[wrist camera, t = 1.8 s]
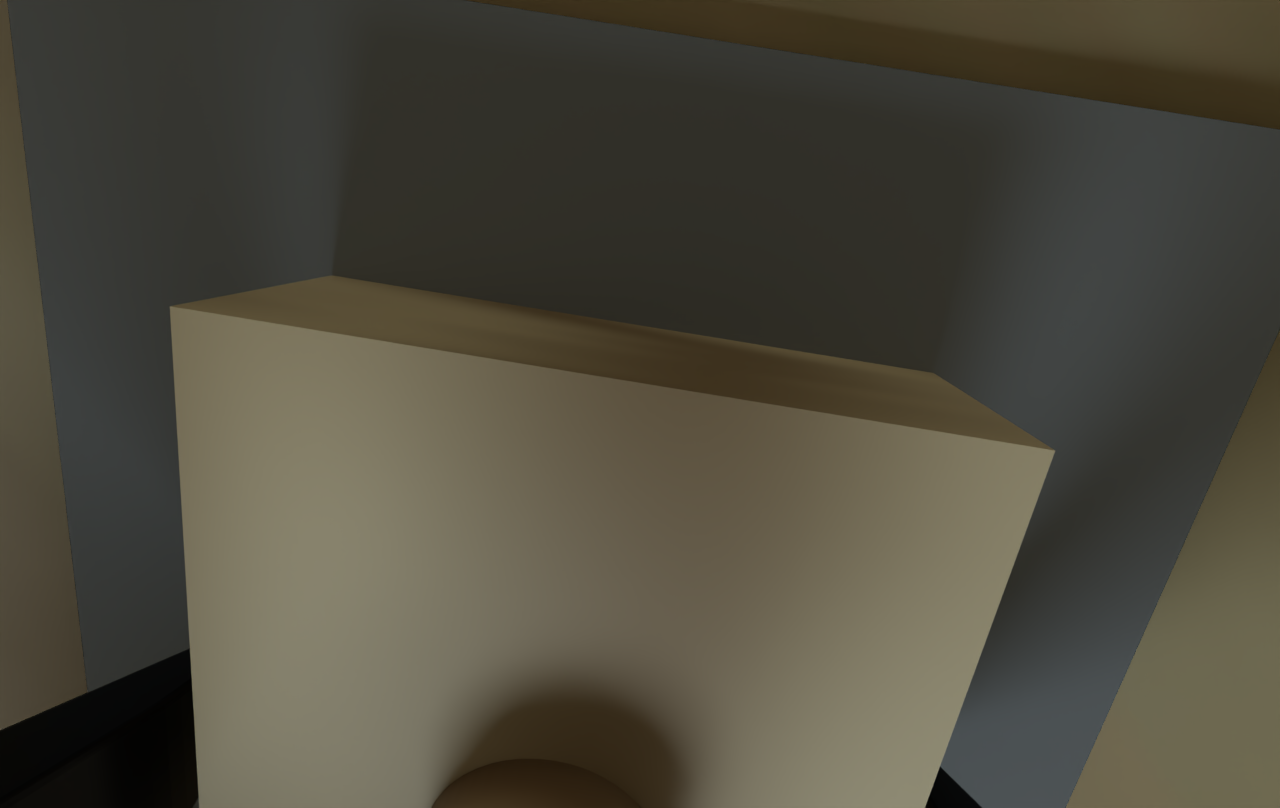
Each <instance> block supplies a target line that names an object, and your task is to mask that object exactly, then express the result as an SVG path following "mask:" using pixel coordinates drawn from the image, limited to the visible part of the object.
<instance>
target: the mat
mask: <svg viewBox="0 0 1280 808" xmlns="http://www.w3.org/2000/svg"><path fill="white" fill-rule="evenodd" d="M7 3H8V11H9V20H10V29H11V37H12V46H13V54H14V63H15V71H16V80H17V89H18V97H19V106H20V114H21V123H22V132H23V140H24V149H25V157H26V166H27V175H28V183H29V192H30V200H31V209H32V218H33V226H34V235H35V243H36V252H37V261H38V269H39V278H40V286H41V295H42V304H43V312H44V321H45V329H46V338H47V347H48V355H49V364H50V372H51V381H52V390H53V398H54V407H55V415H56V424H57V432H58V441H59V450H60V458H61V467H62V475H63V484H64V493H65V501H66V510H67V518H68V527H69V536H70V544H71V553H72V561H73V570H74V579H75V587H76V596H77V604H78V613H79V622H80V630H81V639H82V647H83V656H84V665H85V673H86V682H87V690H88V692H90V691H92V690H94V689H97V688H99V687H101V686H104V685H106V684H108V683H111V682H113V681H115V680H118V679H120V678H122V677H124V676H127V675H129V674H131V673H134V672H136V671H138V670H141V669H143V668H145V667H147V666H150V665H152V664H154V663H157V662H159V661H161V660H164V659H166V658H168V657H170V656H173V655H175V654H177V653H180V652H182V651H184V650H187V649H189V648H190V641H189V624H188V607H187V590H186V573H185V556H184V539H183V522H182V505H181V488H180V472H179V455H178V438H177V421H176V404H175V387H174V370H173V353H172V336H171V319H170V306H174V305H179V304H184V303H190V302H195V301H200V300H205V299H211V298H216V297H221V296H226V295H231V294H237V293H242V292H247V291H252V290H258V289H263V288H268V287H273V286H278V285H284V284H289V283H294V282H299V281H305V280H310V279H315V278H320V277H326V276H331V275H332V276H339V277H345V278H351V279H357V280H363V281H369V282H376V283H382V284H388V285H394V286H400V287H406V288H413V289H419V290H425V291H431V292H437V293H443V294H450V295H456V296H462V297H468V298H474V299H480V300H486V301H493V302H499V303H505V304H511V305H517V306H523V307H530V308H536V309H542V310H548V311H554V312H560V313H567V314H573V315H579V316H585V317H591V318H597V319H604V320H610V321H616V322H622V323H628V324H634V325H641V326H647V327H653V328H659V329H665V330H671V331H678V332H684V333H690V334H696V335H702V336H708V337H714V338H721V339H727V340H733V341H739V342H745V343H751V344H758V345H764V346H770V347H776V348H782V349H788V350H795V351H801V352H807V353H813V354H819V355H825V356H832V357H838V358H844V359H850V360H856V361H862V362H869V363H875V364H881V365H887V366H893V367H899V368H906V369H912V370H918V371H924V372H930V373H934V374H936V375H938V376H939V377H941V378H942V379H944V380H945V381H947V382H949V383H950V384H952V385H953V386H955V387H956V388H958V389H959V390H961V391H963V392H964V393H966V394H967V395H969V396H970V397H972V398H974V399H975V400H977V401H978V402H980V403H981V404H983V405H985V406H986V407H988V408H989V409H991V410H992V411H994V412H996V413H997V414H999V415H1000V416H1002V417H1003V418H1005V419H1007V420H1008V421H1010V422H1011V423H1013V424H1014V425H1016V426H1018V427H1019V428H1021V429H1022V430H1024V431H1025V432H1027V433H1029V434H1030V435H1032V436H1033V437H1035V438H1036V439H1038V440H1040V441H1041V442H1043V443H1044V444H1046V445H1047V446H1049V447H1050V448H1052V449H1054V450H1055V453H1054V456H1053V459H1052V461H1051V464H1050V467H1049V469H1048V472H1047V475H1046V478H1045V480H1044V483H1043V486H1042V489H1041V491H1040V494H1039V497H1038V500H1037V502H1036V505H1035V508H1034V510H1033V513H1032V516H1031V519H1030V521H1029V524H1028V527H1027V530H1026V532H1025V535H1024V538H1023V541H1022V543H1021V546H1020V549H1019V552H1018V554H1017V557H1016V560H1015V562H1014V565H1013V568H1012V571H1011V573H1010V576H1009V579H1008V582H1007V584H1006V587H1005V590H1004V593H1003V595H1002V598H1001V601H1000V604H999V606H998V609H997V612H996V614H995V617H994V620H993V623H992V625H991V628H990V631H989V634H988V636H987V639H986V642H985V645H984V647H983V650H982V653H981V656H980V658H979V661H978V664H977V666H976V669H975V672H974V675H973V677H972V680H971V683H970V686H969V688H968V691H967V694H966V697H965V699H964V702H963V705H962V708H961V710H960V713H959V716H958V718H957V721H956V724H955V727H954V729H953V732H952V735H951V738H950V740H949V743H948V746H947V749H946V751H945V754H944V757H943V760H942V762H941V765H940V766H941V767H942V768H943V769H944V770H945V771H946V772H947V773H948V774H949V775H950V776H951V777H952V778H953V779H954V780H955V781H956V782H957V783H958V784H959V785H960V786H961V787H962V788H963V789H964V790H965V791H966V792H967V793H968V794H969V795H970V796H971V797H972V798H973V799H974V800H975V801H976V802H977V803H978V804H979V805H980V806H981V807H982V808H1066V806H1067V803H1068V801H1069V799H1070V797H1071V794H1072V792H1073V790H1074V788H1075V786H1076V783H1077V781H1078V779H1079V777H1080V774H1081V772H1082V770H1083V768H1084V765H1085V763H1086V761H1087V759H1088V756H1089V754H1090V752H1091V750H1092V748H1093V745H1094V743H1095V741H1096V739H1097V736H1098V734H1099V732H1100V730H1101V727H1102V725H1103V723H1104V721H1105V719H1106V716H1107V714H1108V712H1109V710H1110V707H1111V705H1112V703H1113V701H1114V698H1115V696H1116V694H1117V692H1118V689H1119V687H1120V685H1121V683H1122V681H1123V678H1124V676H1125V674H1126V672H1127V669H1128V667H1129V665H1130V663H1131V660H1132V658H1133V656H1134V654H1135V652H1136V649H1137V647H1138V645H1139V643H1140V640H1141V638H1142V636H1143V634H1144V631H1145V629H1146V627H1147V625H1148V622H1149V620H1150V618H1151V616H1152V614H1153V611H1154V609H1155V607H1156V605H1157V602H1158V600H1159V598H1160V596H1161V593H1162V591H1163V589H1164V587H1165V584H1166V582H1167V580H1168V578H1169V576H1170V573H1171V571H1172V569H1173V567H1174V564H1175V562H1176V560H1177V558H1178V555H1179V553H1180V551H1181V549H1182V547H1183V544H1184V542H1185V540H1186V538H1187V535H1188V533H1189V531H1190V529H1191V526H1192V524H1193V522H1194V520H1195V517H1196V515H1197V513H1198V511H1199V509H1200V506H1201V504H1202V502H1203V500H1204V497H1205V495H1206V493H1207V491H1208V488H1209V486H1210V484H1211V482H1212V480H1213V477H1214V475H1215V473H1216V471H1217V468H1218V466H1219V464H1220V462H1221V459H1222V457H1223V455H1224V453H1225V450H1226V448H1227V446H1228V444H1229V442H1230V439H1231V437H1232V435H1233V433H1234V430H1235V428H1236V426H1237V424H1238V421H1239V419H1240V417H1241V415H1242V413H1243V410H1244V408H1245V406H1246V404H1247V401H1248V399H1249V397H1250V395H1251V392H1252V390H1253V388H1254V386H1255V383H1256V381H1257V379H1258V377H1259V375H1260V372H1261V370H1262V368H1263V366H1264V363H1265V361H1266V359H1267V357H1268V354H1269V352H1270V350H1271V348H1272V346H1273V343H1274V341H1275V339H1276V337H1277V334H1278V332H1279V330H1280V130H1279V129H1272V128H1266V127H1260V126H1253V125H1247V124H1241V123H1235V122H1228V121H1222V120H1216V119H1209V118H1203V117H1197V116H1190V115H1184V114H1178V113H1172V112H1165V111H1159V110H1153V109H1146V108H1140V107H1134V106H1127V105H1121V104H1115V103H1109V102H1102V101H1096V100H1090V99H1083V98H1077V97H1071V96H1064V95H1058V94H1052V93H1046V92H1039V91H1033V90H1027V89H1020V88H1014V87H1008V86H1002V85H995V84H989V83H983V82H976V81H970V80H964V79H957V78H951V77H945V76H939V75H932V74H926V73H920V72H913V71H907V70H901V69H894V68H888V67H882V66H876V65H869V64H863V63H857V62H850V61H844V60H838V59H831V58H825V57H819V56H813V55H806V54H800V53H794V52H787V51H781V50H775V49H768V48H762V47H756V46H750V45H743V44H737V43H731V42H724V41H718V40H712V39H706V38H699V37H693V36H687V35H680V34H674V33H668V32H661V31H655V30H649V29H643V28H636V27H630V26H624V25H617V24H611V23H605V22H598V21H592V20H586V19H580V18H573V17H567V16H561V15H554V14H548V13H542V12H535V11H529V10H523V9H517V8H510V7H504V6H498V5H491V4H485V3H479V2H472V1H466V0H7ZM193 808H199V798H198V800H197V801H196V803H195V805H194V806H193Z"/></svg>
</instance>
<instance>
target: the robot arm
mask: <svg viewBox="0 0 1280 808" xmlns="http://www.w3.org/2000/svg"><path fill="white" fill-rule="evenodd" d="M198 798H199V794H198V777H197V760H196V743H195V726H194V709H193V692H192V675H191V658H190V648H189V649H187V650H184V651H182V652H180V653H177V654H175V655H173V656H170V657H168V658H166V659H164V660H161V661H159V662H157V663H154V664H152V665H150V666H147V667H145V668H143V669H141V670H138V671H136V672H134V673H131V674H129V675H127V676H124V677H122V678H120V679H118V680H115V681H113V682H111V683H108V684H106V685H104V686H101V687H99V688H97V689H94V690H92V691H90V692H88V693H85V694H83V695H81V696H78V697H76V698H74V699H71V700H69V701H67V702H65V703H62V704H60V705H58V706H55V707H53V708H51V709H48V710H46V711H44V712H42V713H39V714H37V715H35V716H32V717H30V718H28V719H25V720H23V721H21V722H18V723H16V724H14V725H12V726H9V727H7V728H5V729H2V730H0V808H193V806H194V805H195V803H196V801H197V800H198ZM925 808H982V807H981V806H980V805H979V804H978V803H977V802H976V801H975V800H974V799H973V798H972V797H971V796H970V795H969V794H968V793H967V792H966V791H965V790H964V789H963V788H962V787H961V786H960V785H959V784H958V783H957V782H956V781H955V780H954V779H953V778H952V777H951V776H950V775H949V774H948V773H947V772H946V771H945V770H944V769H943V768H942V767H941V766H940V768H939V770H938V773H937V776H936V779H935V781H934V784H933V787H932V790H931V792H930V795H929V798H928V801H927V803H926V806H925Z"/></svg>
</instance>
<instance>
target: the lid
mask: <svg viewBox="0 0 1280 808" xmlns="http://www.w3.org/2000/svg"><path fill="white" fill-rule="evenodd" d="M170 319H171V336H172V353H173V370H174V387H175V404H176V421H177V438H178V455H179V472H180V488H181V505H182V522H183V539H184V556H185V573H186V590H187V607H188V624H189V641H190V658H191V675H192V692H193V709H194V726H195V743H196V760H197V777H198V794H199V808H925V806H926V803H927V801H928V798H929V795H930V792H931V790H932V787H933V784H934V781H935V779H936V776H937V773H938V770H939V768H940V765H941V762H942V760H943V757H944V754H945V751H946V749H947V746H948V743H949V740H950V738H951V735H952V732H953V729H954V727H955V724H956V721H957V718H958V716H959V713H960V710H961V708H962V705H963V702H964V699H965V697H966V694H967V691H968V688H969V686H970V683H971V680H972V677H973V675H974V672H975V669H976V666H977V664H978V661H979V658H980V656H981V653H982V650H983V647H984V645H985V642H986V639H987V636H988V634H989V631H990V628H991V625H992V623H993V620H994V617H995V614H996V612H997V609H998V606H999V604H1000V601H1001V598H1002V595H1003V593H1004V590H1005V587H1006V584H1007V582H1008V579H1009V576H1010V573H1011V571H1012V568H1013V565H1014V562H1015V560H1016V557H1017V554H1018V552H1019V549H1020V546H1021V543H1022V541H1023V538H1024V535H1025V532H1026V530H1027V527H1028V524H1029V521H1030V519H1031V516H1032V513H1033V510H1034V508H1035V505H1036V502H1037V500H1038V497H1039V494H1040V491H1041V489H1042V486H1043V483H1044V480H1045V478H1046V475H1047V472H1048V469H1049V467H1050V464H1051V461H1052V459H1053V456H1054V453H1055V450H1054V449H1052V448H1050V447H1049V446H1047V445H1046V444H1044V443H1043V442H1041V441H1040V440H1038V439H1036V438H1035V437H1033V436H1032V435H1030V434H1029V433H1027V432H1025V431H1024V430H1022V429H1021V428H1019V427H1018V426H1016V425H1014V424H1013V423H1011V422H1010V421H1008V420H1007V419H1005V418H1003V417H1002V416H1000V415H999V414H997V413H996V412H994V411H992V410H991V409H989V408H988V407H986V406H985V405H983V404H981V403H980V402H978V401H977V400H975V399H974V398H972V397H970V396H969V395H967V394H966V393H964V392H963V391H961V390H959V389H958V388H956V387H955V386H953V385H952V384H950V383H949V382H947V381H945V380H944V379H942V378H941V377H939V376H938V375H936V374H934V373H930V372H924V371H918V370H912V369H906V368H899V367H893V366H887V365H881V364H875V363H869V362H862V361H856V360H850V359H844V358H838V357H832V356H825V355H819V354H813V353H807V352H801V351H795V350H788V349H782V348H776V347H770V346H764V345H758V344H751V343H745V342H739V341H733V340H727V339H721V338H714V337H708V336H702V335H696V334H690V333H684V332H678V331H671V330H665V329H659V328H653V327H647V326H641V325H634V324H628V323H622V322H616V321H610V320H604V319H597V318H591V317H585V316H579V315H573V314H567V313H560V312H554V311H548V310H542V309H536V308H530V307H523V306H517V305H511V304H505V303H499V302H493V301H486V300H480V299H474V298H468V297H462V296H456V295H450V294H443V293H437V292H431V291H425V290H419V289H413V288H406V287H400V286H394V285H388V284H382V283H376V282H369V281H363V280H357V279H351V278H345V277H339V276H332V275H331V276H326V277H320V278H315V279H310V280H305V281H299V282H294V283H289V284H284V285H278V286H273V287H268V288H263V289H258V290H252V291H247V292H242V293H237V294H231V295H226V296H221V297H216V298H211V299H205V300H200V301H195V302H190V303H184V304H179V305H174V306H170Z"/></svg>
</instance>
